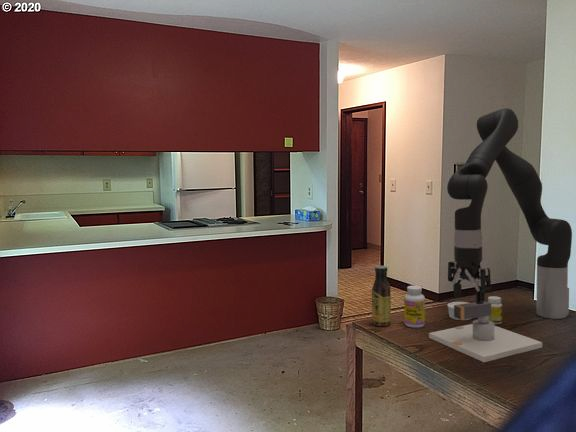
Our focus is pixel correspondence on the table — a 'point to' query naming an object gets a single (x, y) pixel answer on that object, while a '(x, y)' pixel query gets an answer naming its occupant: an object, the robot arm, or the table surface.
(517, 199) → the robot arm
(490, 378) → the table surface
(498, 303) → the supplement bottle
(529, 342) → the base
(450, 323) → the table surface
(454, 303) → the ramekin
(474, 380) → the table surface
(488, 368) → the table surface
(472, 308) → the handle
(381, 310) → the sauce bottle
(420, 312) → the supplement bottle
